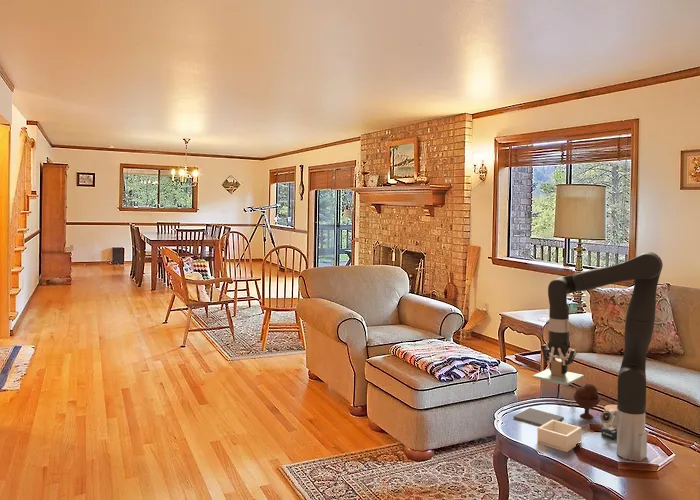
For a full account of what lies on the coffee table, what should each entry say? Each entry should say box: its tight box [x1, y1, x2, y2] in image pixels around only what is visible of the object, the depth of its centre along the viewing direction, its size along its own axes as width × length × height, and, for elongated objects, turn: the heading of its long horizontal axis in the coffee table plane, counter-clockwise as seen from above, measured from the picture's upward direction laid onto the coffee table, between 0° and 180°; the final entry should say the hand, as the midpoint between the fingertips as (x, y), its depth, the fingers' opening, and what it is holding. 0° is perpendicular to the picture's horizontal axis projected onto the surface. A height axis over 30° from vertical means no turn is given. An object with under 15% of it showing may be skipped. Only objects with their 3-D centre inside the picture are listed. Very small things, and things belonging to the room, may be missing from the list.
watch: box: [600, 409, 617, 441], centre depth 228 cm, size 6×8×11 cm
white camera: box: [603, 404, 618, 428], centre depth 238 cm, size 11×11×9 cm
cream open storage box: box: [536, 420, 582, 453], centre depth 224 cm, size 12×12×6 cm
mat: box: [513, 407, 565, 427], centre depth 249 cm, size 16×14×1 cm
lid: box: [532, 357, 585, 386], centre depth 223 cm, size 14×14×8 cm
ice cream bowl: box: [573, 383, 602, 421], centre depth 249 cm, size 11×11×15 cm
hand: (558, 372), depth 223 cm, fingers closed on lid, 4 cm apart
